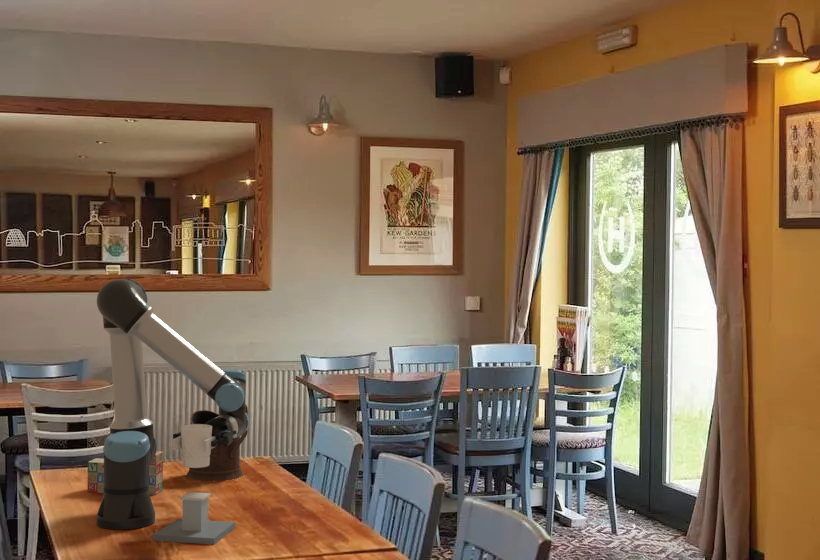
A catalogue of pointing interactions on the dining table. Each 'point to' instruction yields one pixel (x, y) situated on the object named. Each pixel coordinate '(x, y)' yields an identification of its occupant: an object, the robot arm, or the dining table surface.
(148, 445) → the robot arm
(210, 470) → the cup holder
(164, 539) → the narrow pillar
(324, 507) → the dining table surface
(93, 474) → the stack of blocks
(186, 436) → the white cup
